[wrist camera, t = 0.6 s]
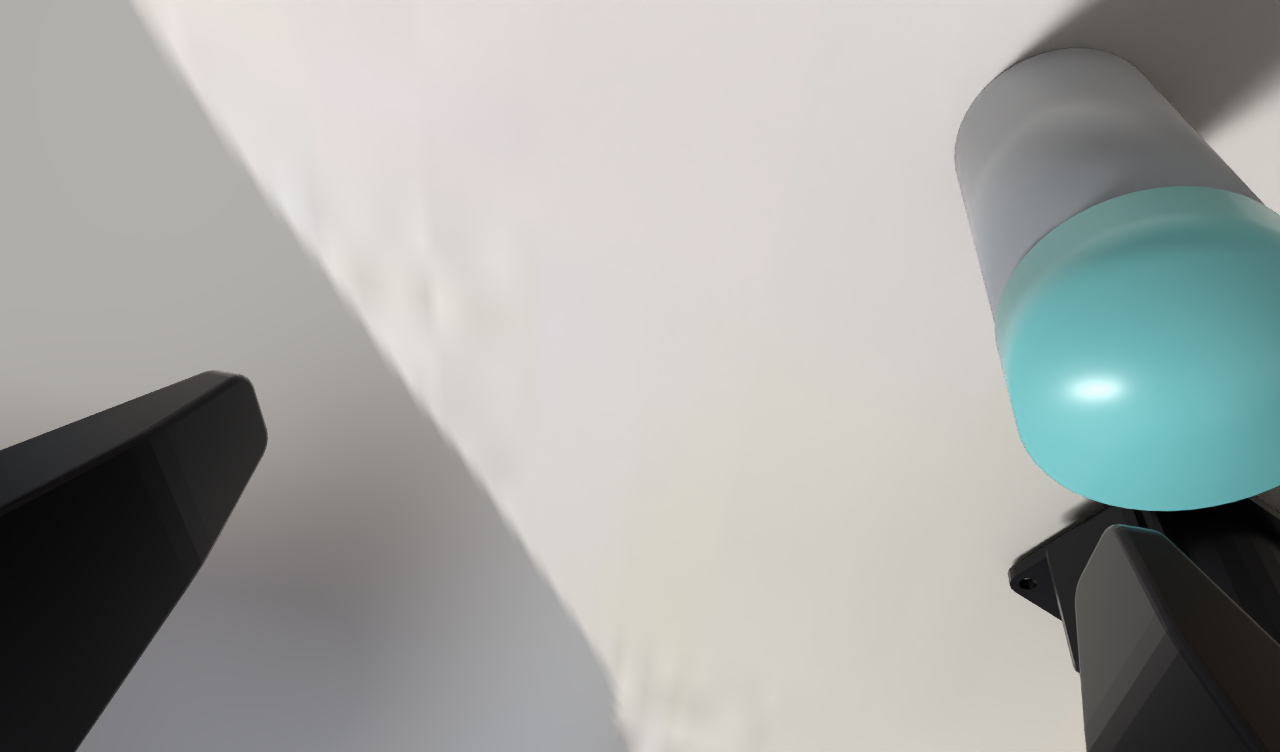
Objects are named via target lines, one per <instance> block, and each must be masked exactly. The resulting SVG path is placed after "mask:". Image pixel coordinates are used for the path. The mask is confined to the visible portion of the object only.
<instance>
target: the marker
mask: <svg viewBox="0 0 1280 752" xmlns="http://www.w3.org/2000/svg"><path fill="white" fill-rule="evenodd" d="M954 159H955V169H956V173H957V177H958V181H959V185H960V189H961V193H962V197H963V201H964V205H965V209H966V212H967V216H968V220H969V224H970V228H971V232H972V236H973V240H974V244H975V248H976V252H977V256H978V260H979V264H980V267H981V271H982V275H983V279H984V283H985V287H986V291H987V295H988V299H989V303H990V307H991V311H992V315H993V319H994V322H995V336H996V344H997V348H998V352H999V356H1000V360H1001V364H1002V368H1003V373H1004V377H1005V381H1006V385H1007V389H1008V393H1009V397H1010V401H1011V405H1012V409H1013V413H1014V417H1015V421H1016V425H1017V428H1018V432H1019V436H1020V439H1021V441H1022V443H1023V445H1024V447H1025V449H1026V451H1027V452H1028V454H1029V455H1030V457H1031V458H1032V459H1033V461H1034V462H1035V463H1036V464H1037V465H1038V466H1039V467H1040V468H1041V469H1042V471H1043V472H1044V473H1045V474H1047V475H1048V476H1049V477H1051V478H1052V479H1053V480H1055V481H1056V482H1057V483H1058V484H1060V485H1062V486H1064V487H1065V488H1067V489H1069V490H1071V491H1072V492H1074V493H1077V494H1079V495H1081V496H1084V497H1086V498H1088V499H1091V500H1094V501H1098V502H1101V503H1104V504H1108V505H1112V506H1117V507H1122V508H1127V509H1137V510H1146V511H1178V510H1192V509H1199V508H1206V507H1213V506H1217V505H1222V504H1226V503H1231V502H1235V501H1238V500H1242V499H1245V498H1248V497H1251V496H1254V495H1257V494H1260V493H1262V492H1265V491H1267V490H1270V489H1272V488H1275V487H1277V486H1279V485H1280V216H1279V215H1278V214H1277V213H1276V212H1274V211H1273V210H1271V209H1269V208H1268V207H1266V206H1265V205H1264V204H1263V203H1262V201H1261V200H1260V199H1259V198H1258V197H1257V196H1256V195H1255V194H1254V193H1253V192H1252V191H1251V190H1250V189H1249V188H1248V186H1247V185H1246V184H1245V183H1244V182H1243V181H1242V180H1241V179H1240V178H1239V177H1238V176H1237V175H1236V174H1235V173H1234V171H1233V170H1232V169H1231V168H1230V167H1229V166H1228V165H1227V164H1226V163H1225V162H1224V161H1223V160H1222V159H1221V158H1220V156H1219V155H1218V154H1217V153H1216V152H1215V151H1214V150H1213V149H1212V148H1211V147H1210V146H1209V145H1208V144H1207V143H1206V141H1205V140H1204V139H1203V138H1202V137H1201V136H1200V135H1199V134H1198V133H1197V132H1196V131H1195V130H1194V129H1193V128H1192V126H1191V125H1190V124H1189V123H1188V122H1187V121H1186V120H1185V119H1184V118H1183V117H1182V116H1181V115H1180V114H1179V113H1178V111H1177V110H1176V109H1175V108H1174V107H1173V106H1172V105H1171V104H1170V103H1169V102H1168V101H1167V100H1166V99H1165V98H1164V96H1163V95H1162V94H1161V93H1160V92H1159V91H1158V90H1157V89H1156V88H1155V87H1154V86H1153V85H1152V84H1151V83H1150V81H1149V80H1148V79H1147V78H1146V77H1145V76H1144V75H1143V74H1142V73H1141V72H1140V71H1139V70H1138V69H1137V68H1136V67H1135V66H1134V65H1132V64H1131V63H1129V62H1127V61H1126V60H1124V59H1123V58H1121V57H1118V56H1116V55H1114V54H1112V53H1109V52H1105V51H1101V50H1097V49H1090V48H1065V49H1057V50H1052V51H1048V52H1044V53H1041V54H1038V55H1035V56H1032V57H1030V58H1027V59H1025V60H1023V61H1021V62H1019V63H1017V64H1015V65H1014V66H1012V67H1011V68H1009V69H1007V70H1006V71H1004V72H1003V73H1001V74H1000V75H999V76H998V77H996V78H995V79H994V80H993V81H992V82H991V83H989V84H988V85H987V86H986V87H985V88H984V89H983V90H982V92H981V93H980V94H979V95H978V96H977V98H976V99H975V100H974V101H973V103H972V105H971V106H970V108H969V109H968V111H967V112H966V114H965V117H964V119H963V121H962V123H961V125H960V128H959V131H958V135H957V139H956V144H955V158H954Z"/></svg>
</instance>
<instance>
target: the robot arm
mask: <svg viewBox="0 0 1280 752" xmlns="http://www.w3.org/2000/svg"><path fill="white" fill-rule="evenodd" d="M267 440H268V435H267V428H266V425H265V422H264V419H263V415H262V412H261V409H260V405H259V402H258V399H257V396H256V393H255V389H254V387H253V384H252V383H251V381H250V380H249V379H248V378H247V377H245V376H243V375H240V374H234V373H229V372H222V371H214V370H212V371H206V372H203V373H201V374H198V375H196V376H193V377H190V378H188V379H185V380H182V381H180V382H177V383H175V384H172V385H170V386H167V387H164V388H162V389H159V390H156V391H154V392H151V393H149V394H146V395H143V396H141V397H138V398H136V399H133V400H130V401H128V402H125V403H123V404H120V405H117V406H115V407H112V408H110V409H107V410H105V411H102V412H99V413H96V414H94V415H91V416H89V417H86V418H84V419H81V420H79V421H76V422H73V423H70V424H68V425H65V426H63V427H60V428H58V429H55V430H52V431H50V432H47V433H44V434H42V435H40V436H37V437H34V438H31V439H29V440H26V441H24V442H21V443H18V444H16V445H13V446H11V447H8V448H5V449H3V450H0V752H76V750H77V749H78V748H79V746H80V744H81V743H82V742H83V740H84V739H85V737H86V736H87V734H88V733H89V731H90V730H91V729H92V727H93V726H94V724H95V723H96V721H97V720H98V718H99V717H100V715H101V714H102V712H103V711H104V710H105V708H106V707H107V705H108V704H109V702H110V701H111V699H112V698H113V696H114V695H115V693H116V692H117V690H118V689H119V688H120V686H121V685H122V683H123V682H124V680H125V679H126V677H127V676H128V674H129V673H130V671H131V670H132V669H133V667H134V666H135V664H136V663H137V661H138V660H139V658H140V657H141V655H142V654H143V652H144V651H145V650H146V648H147V647H148V645H149V644H150V642H151V641H152V639H153V638H154V636H155V635H156V634H157V632H158V631H159V629H160V628H161V626H162V625H163V623H164V622H165V620H166V619H167V617H168V616H169V614H170V613H171V612H172V610H173V609H174V607H175V606H176V604H177V603H178V601H179V600H180V598H181V597H182V595H183V594H184V593H185V591H186V590H187V588H188V587H189V585H190V584H191V582H192V581H193V579H194V578H195V576H196V575H197V573H198V571H199V570H200V568H201V567H202V565H203V564H204V562H205V560H206V558H207V557H208V555H209V553H210V551H211V550H212V548H213V546H214V545H215V543H216V541H217V539H218V537H219V535H220V534H221V532H222V530H223V528H224V526H225V524H226V523H227V521H228V519H229V517H230V515H231V513H232V512H233V510H234V508H235V506H236V504H237V502H238V500H239V498H240V497H241V495H242V493H243V491H244V489H245V488H246V486H247V484H248V482H249V480H250V478H251V476H252V474H253V473H254V471H255V469H256V467H257V465H258V464H259V462H260V460H261V458H262V456H263V454H264V452H265V449H266V446H267ZM1008 577H1009V582H1010V586H1011V589H1013V590H1014V591H1015V592H1016V593H1018V594H1019V595H1021V596H1023V597H1024V598H1026V599H1027V600H1029V601H1031V602H1032V603H1034V604H1035V605H1037V606H1039V607H1040V608H1042V609H1044V610H1045V611H1047V612H1048V613H1050V614H1052V615H1053V616H1055V617H1056V618H1058V619H1060V620H1061V621H1062V623H1063V627H1064V631H1065V635H1066V639H1067V643H1068V647H1069V651H1070V655H1071V659H1072V663H1073V667H1074V669H1075V670H1076V671H1077V672H1078V673H1079V674H1080V678H1081V691H1082V705H1083V718H1084V731H1085V741H1086V751H1087V752H1280V513H1279V512H1278V511H1276V510H1275V509H1273V508H1272V507H1270V506H1269V505H1268V504H1266V503H1265V502H1263V501H1262V500H1260V499H1259V498H1257V497H1256V496H1251V497H1248V498H1245V499H1242V500H1238V501H1235V502H1231V503H1226V504H1222V505H1217V506H1213V507H1206V508H1199V509H1192V510H1178V511H1146V510H1137V509H1127V508H1122V507H1117V506H1112V505H1109V506H1108V507H1106V508H1105V509H1103V510H1101V511H1100V512H1098V513H1097V514H1095V515H1093V516H1092V517H1090V518H1089V519H1087V520H1085V521H1084V522H1082V523H1081V524H1079V525H1078V526H1076V527H1074V528H1073V529H1071V530H1070V531H1068V532H1066V533H1065V534H1063V535H1062V536H1060V537H1058V538H1057V539H1055V540H1054V541H1052V542H1050V543H1049V544H1047V545H1046V546H1044V547H1042V548H1041V549H1039V550H1038V551H1036V552H1034V553H1033V554H1031V555H1030V556H1028V557H1026V558H1025V559H1023V560H1022V561H1020V562H1018V563H1017V564H1015V565H1014V566H1012V567H1011V568H1010V569H1009V572H1008ZM1025 578H1030V579H1025Z"/></svg>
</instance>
